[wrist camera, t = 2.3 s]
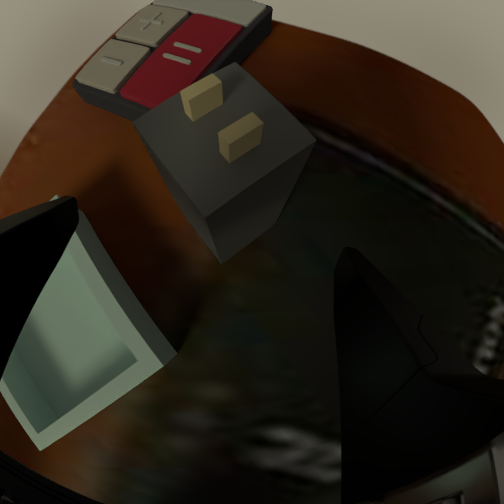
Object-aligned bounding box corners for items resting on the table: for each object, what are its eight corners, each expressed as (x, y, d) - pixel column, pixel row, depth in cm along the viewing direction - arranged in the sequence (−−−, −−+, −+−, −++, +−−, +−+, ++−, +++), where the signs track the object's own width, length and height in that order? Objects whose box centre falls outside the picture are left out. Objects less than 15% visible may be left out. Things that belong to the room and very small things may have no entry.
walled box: (177, 353, 18) (163, 366, 15) (66, 432, 17) (40, 451, 13) (83, 212, 20) (56, 194, 16) (-9, 304, 18) (-40, 303, 14)
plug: (275, 223, 20) (326, 120, 8) (221, 264, 20) (200, 205, 8) (234, 174, 21) (235, 40, 9) (182, 212, 20) (121, 102, 8)
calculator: (65, 80, 18) (173, -22, 20) (86, 106, 22) (179, 7, 24) (169, 118, 18) (275, 0, 19) (181, 147, 22) (271, 32, 24)
